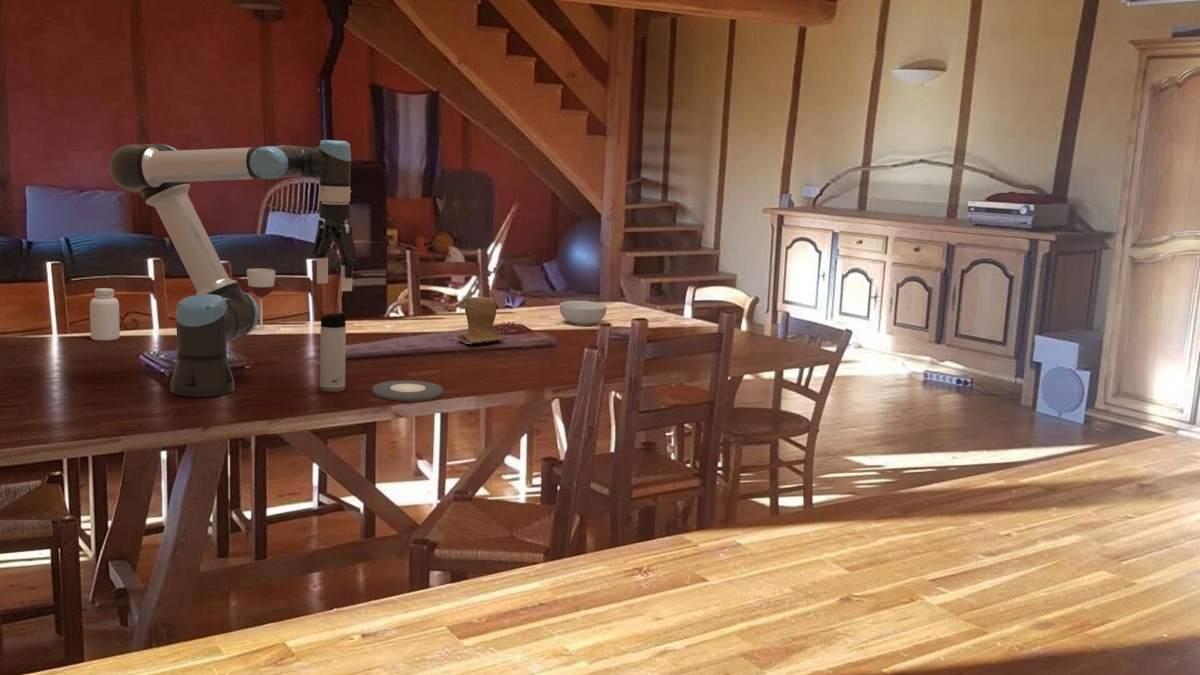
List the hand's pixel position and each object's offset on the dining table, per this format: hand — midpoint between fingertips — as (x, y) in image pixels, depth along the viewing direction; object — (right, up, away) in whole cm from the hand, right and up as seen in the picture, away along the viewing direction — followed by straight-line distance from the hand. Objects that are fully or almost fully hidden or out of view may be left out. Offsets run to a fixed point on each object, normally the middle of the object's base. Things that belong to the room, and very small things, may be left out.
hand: (334, 287), depth 277 cm
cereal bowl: (+61, -8, +120) cm, 135 cm away
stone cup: (+28, -15, +75) cm, 82 cm away
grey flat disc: (+18, -27, +5) cm, 33 cm away
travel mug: (-1, -26, +5) cm, 27 cm away
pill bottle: (-81, -13, +50) cm, 96 cm away
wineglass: (-41, -11, +73) cm, 84 cm away
